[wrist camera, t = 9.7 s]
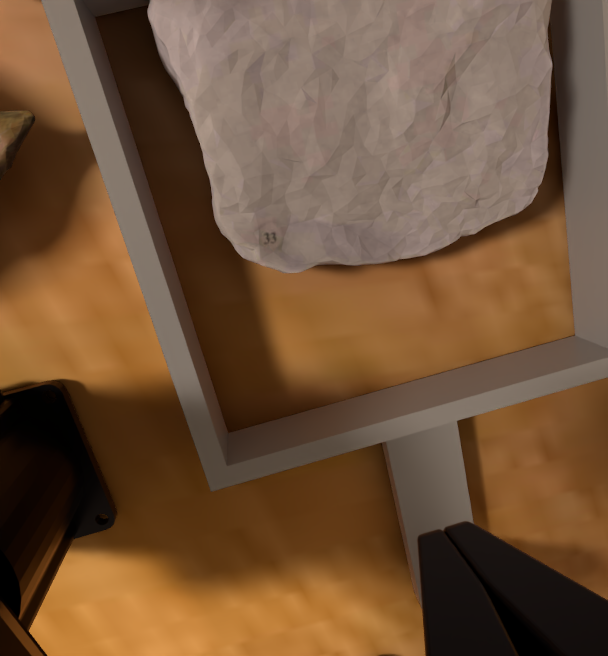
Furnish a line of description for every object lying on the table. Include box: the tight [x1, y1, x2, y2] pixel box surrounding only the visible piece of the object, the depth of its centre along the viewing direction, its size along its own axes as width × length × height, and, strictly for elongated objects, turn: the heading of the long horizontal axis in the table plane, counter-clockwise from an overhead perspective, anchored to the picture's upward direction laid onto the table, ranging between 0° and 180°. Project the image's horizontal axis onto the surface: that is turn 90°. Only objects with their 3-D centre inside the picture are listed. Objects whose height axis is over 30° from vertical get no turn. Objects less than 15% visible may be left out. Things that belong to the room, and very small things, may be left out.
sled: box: [41, 0, 608, 608], centre depth 15 cm, size 26×17×7 cm, turn 13°
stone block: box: [147, 0, 553, 273], centre depth 16 cm, size 12×5×10 cm
